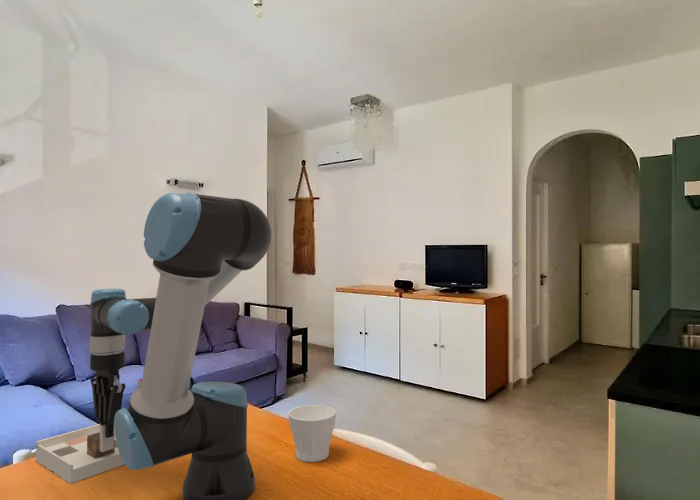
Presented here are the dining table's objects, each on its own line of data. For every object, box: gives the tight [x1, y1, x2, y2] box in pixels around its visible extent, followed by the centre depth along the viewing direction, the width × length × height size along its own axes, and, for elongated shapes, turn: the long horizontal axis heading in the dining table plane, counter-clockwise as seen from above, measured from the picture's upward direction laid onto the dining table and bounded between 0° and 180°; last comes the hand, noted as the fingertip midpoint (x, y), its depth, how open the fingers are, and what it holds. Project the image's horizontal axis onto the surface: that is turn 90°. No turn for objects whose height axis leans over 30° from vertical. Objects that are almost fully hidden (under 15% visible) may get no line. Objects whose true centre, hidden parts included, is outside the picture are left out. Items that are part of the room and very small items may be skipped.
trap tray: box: [35, 423, 126, 485], centre depth 116 cm, size 20×17×5 cm
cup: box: [287, 404, 337, 463], centre depth 118 cm, size 12×12×11 cm
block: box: [87, 432, 115, 459], centre depth 113 cm, size 4×4×4 cm
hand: (106, 449), depth 111 cm, fingers closed
